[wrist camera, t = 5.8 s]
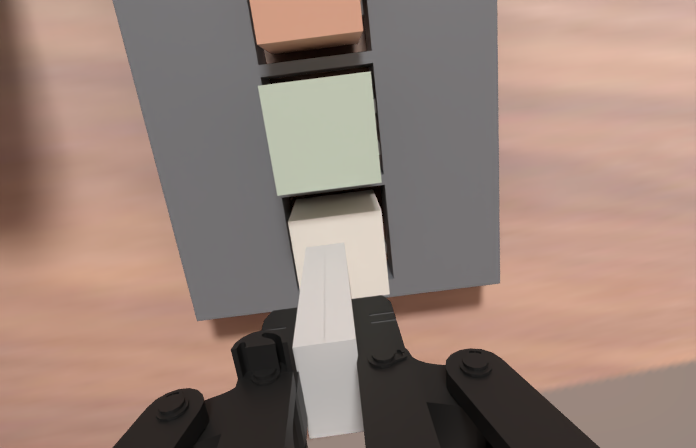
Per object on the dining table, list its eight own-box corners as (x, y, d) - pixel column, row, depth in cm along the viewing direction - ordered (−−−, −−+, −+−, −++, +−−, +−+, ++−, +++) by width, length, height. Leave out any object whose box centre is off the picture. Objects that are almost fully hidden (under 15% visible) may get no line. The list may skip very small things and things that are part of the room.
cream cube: (307, 269, 23) (302, 305, 19) (296, 199, 21) (287, 221, 18) (382, 260, 22) (392, 294, 19) (375, 189, 21) (384, 209, 17)
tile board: (210, 298, 24) (197, 321, 22) (122, -57, 19) (91, -79, 16) (483, 264, 24) (499, 283, 22) (474, -103, 18) (495, -132, 16)
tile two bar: (288, 176, 19) (277, 195, 16) (273, 87, 18) (257, 85, 14) (375, 165, 19) (385, 182, 16) (366, 76, 18) (374, 70, 14)
